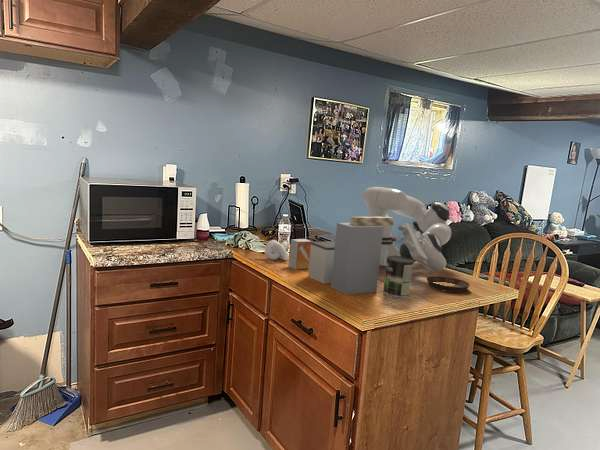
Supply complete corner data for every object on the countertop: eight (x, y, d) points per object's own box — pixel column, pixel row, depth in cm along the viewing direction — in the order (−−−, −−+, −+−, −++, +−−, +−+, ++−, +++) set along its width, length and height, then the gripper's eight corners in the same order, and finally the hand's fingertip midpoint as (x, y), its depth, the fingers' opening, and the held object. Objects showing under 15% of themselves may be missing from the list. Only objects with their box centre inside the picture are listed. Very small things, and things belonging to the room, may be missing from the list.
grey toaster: (342, 273, 192) (345, 240, 190) (358, 280, 182) (361, 246, 179) (308, 275, 183) (311, 241, 181) (323, 283, 173) (326, 247, 170)
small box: (295, 269, 192) (297, 241, 190) (288, 266, 197) (290, 239, 195) (310, 268, 196) (312, 241, 194) (302, 265, 201) (304, 238, 200)
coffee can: (387, 297, 161) (391, 261, 159) (380, 289, 171) (383, 255, 169) (413, 298, 162) (417, 262, 160) (404, 290, 172) (408, 256, 170)
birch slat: (387, 223, 174) (388, 216, 173) (393, 225, 171) (394, 217, 170) (350, 224, 164) (350, 216, 164) (355, 225, 161) (356, 217, 161)
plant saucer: (417, 282, 187) (418, 276, 187) (449, 281, 194) (450, 275, 193) (444, 295, 171) (445, 287, 170) (478, 293, 177) (479, 286, 177)
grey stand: (360, 284, 176) (367, 222, 172) (376, 291, 168) (383, 226, 164) (331, 287, 169) (336, 222, 165) (345, 294, 160) (352, 227, 156)
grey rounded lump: (272, 255, 219) (274, 238, 217) (293, 258, 214) (295, 241, 212) (261, 258, 208) (263, 241, 207) (283, 262, 203) (284, 244, 202)
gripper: (421, 270, 176) (402, 255, 169) (408, 238, 191) (390, 222, 184) (434, 262, 173) (415, 246, 166) (419, 230, 189) (401, 214, 182)
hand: (402, 233), depth 175 cm, fingers open, 8 cm apart
